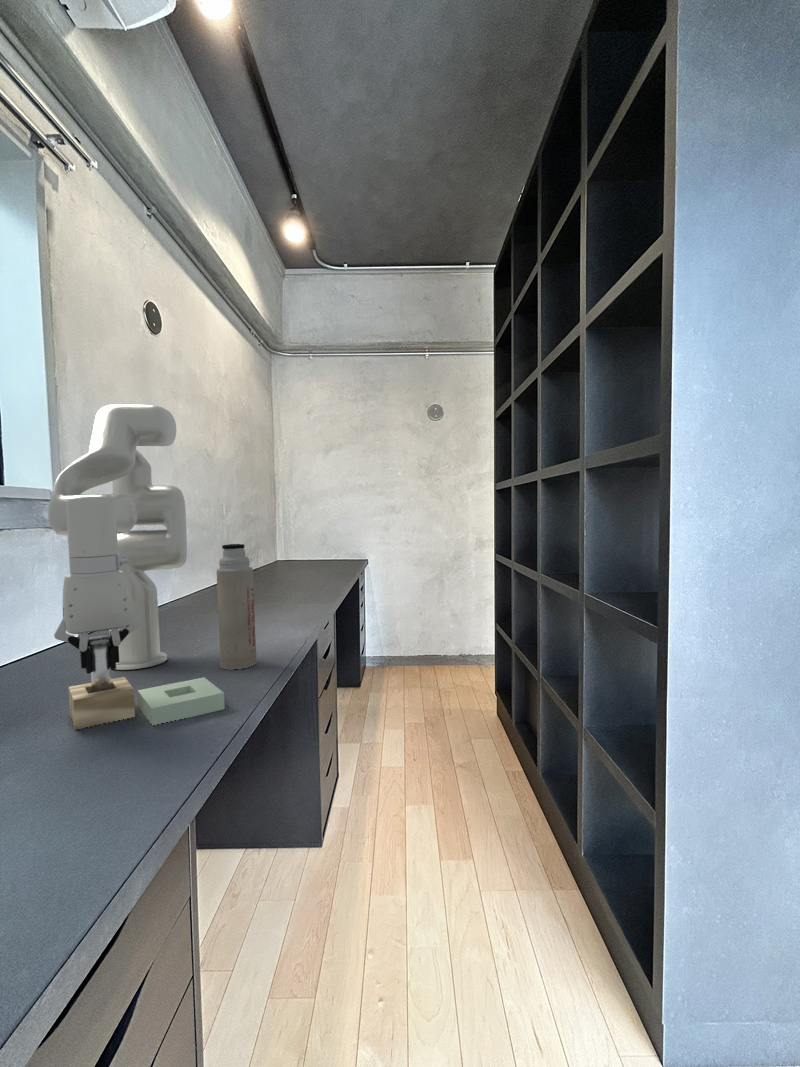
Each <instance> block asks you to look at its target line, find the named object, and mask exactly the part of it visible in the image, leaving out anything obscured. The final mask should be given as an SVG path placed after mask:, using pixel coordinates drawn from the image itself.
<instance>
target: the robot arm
mask: <svg viewBox="0 0 800 1067" xmlns="http://www.w3.org/2000/svg"><path fill="white" fill-rule="evenodd" d="M176 424H177V423H176V419H175V416H173V414H172V413H171V412H170V411H169V410H168V409H166V408H164V407H162V406H159V405H152V404H123V403H121V404H117V403H116V404H108V405H105V406H102V407H101V408H100V409H99V410H98V411H97V413H96V414H95V419H94V423H93V429H92V432H91V433H92V434H91V438H90V443H89V447H88V453H86V454H84V455H83V456H81V457H79V458H77V459H76V460H74V461H73V462H72V463H70V465H68V466H66V468H65V469H64V470H62V471H61V472H60V473H59V475H58V476H57V478H56V479H55V481H54V484H53V487H52V491H51V494H50V499H49V503H48V512H47V518H48V523H49V526H50V528H51V529H52V531H54V532H55V533H56V534H58V535H62V536H67V545H68V547H67V548H68V562H69V564H68V565H69V574H67V575H64V580H63V587H62V619H61V621H60V623H59V625H58V627H57V629H56V630H55V632H54V635H53V637H54V639H56V640H58V641H62V642H65V643H68V644H70V645H72V646H73V647H74V648H76V649H78V650H79V654H80V668H81V670H82V669H85V672H86V674H87V675H89V674H90V675H91V672H92V662H91V651H90V646H87V643H88V637H89V633H95V632H96V633H97V632H102V631H108V634H109V636H111V643H110V644H109V653H110V670H117V671H129V670H139V669H145V668H149V667H154V666H157V665H160V664H161V665H162V664H163V663H165V662H166V661H167V660H168V654H167V653H166V652H164V651H163V652H162V651H161V646H160V626H159V623H160V622H159V606H158V605H159V604H158V602H159V600H158V588H157V586H156V584H155V583H154V581H153V580H152V579H151V578H150V577H149V576H148V574H146V573H145V572H146V571H147V572H148V571H156V570H160V571H161V570H171V569H179V568H182V567H183V566H184V565H185V564H186V561H187V557H188V538H187V534H188V533H187V513H186V510H187V509H186V503H185V502H186V501H185V496H184V493H183V492H182V490H181V489H180V488H179V487H177V486H175V485H165V484H164V485H159V484H158V485H153V484H152V466H151V464H150V463H149V461H148V460H147V459H146V458H145V456H144V455H143V454H142V453H141V452H139V451H138V450H137V447H171V446H172V445H173V443H174V442H175V441H176V437H177V425H176ZM111 482H112V493H111V494H110V493H109V494H108V493H107V494H106V493H104V494H103V493H102V494H99V493H92V494H91V493H90V494H89V493H88V494H87V493H86V494H83V493H85V492H87V491H88V490H90V489H92V488H95V487H99V486H101V485H106V484H108V483H111ZM157 525H159V526H160V525H162V526H165V527H166V529H149V530H148V529H140V530H139V529H137V530H136V529H135V530H132V529H133V528H134V527H135V526H157ZM75 635H77V636H75Z"/></svg>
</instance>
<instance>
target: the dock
mask: <svg viewBox="0 0 800 1067" xmlns="http://www.w3.org/2000/svg"><path fill="white" fill-rule="evenodd" d="M137 707H138V708H139V709H140V711H141V712H142V714H143V715H144V717H145V718H146V719H147V721H148V720H149V721H148V722H149V723H150V725H151V724H152V725H151V726H152V727H153V725H155V726H158V725H157V724H159V725H162V724H161V723H164V724H167V723H166V722H168V723H171V722H170V721H172V722H176V721H180V719H181V720H185V719H189V718H193V717H198V716H202V715H206V714H210V713H214V712H218V711H222V710H223V711H224V710H225V709H226V706H225V692H223V690H221V688H218V686H217V685H215V684H213V683H212V682H211V681H210V680H208V679H207V678H206V677H203V676H202V677H199V678H195V679H189V680H184V681H183V680H182V681H178V682H173V683H167V684H163V685H158V686H153V687H147V688H143V689H138V690H137ZM184 718H185V719H184ZM175 720H176V721H175Z"/></svg>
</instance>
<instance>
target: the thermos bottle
mask: <svg viewBox="0 0 800 1067" xmlns="http://www.w3.org/2000/svg"><path fill="white" fill-rule="evenodd" d="M221 548H222V549H223V551H222V557H221V558H220V559H219V562H218V564H219V566H218V567H219V568H218V569H217V568H216V590H217V594H216V595H217V614H218V628H219V630H218V631H219V657H220V658H219V659H220V660H219V661H220V668H221V669H222V668H223V670H227V669H228V671H229V670H230V671H235V670H234V669H238V670H243V669H242V668H245V669H248V667H249V668H252V667H254V666H256V665H257V645H256V644H257V643H256V642H257V641H256V617H255V595H254V594H255V592H254V570H253V569H254V568H253V567H251V566H250V562H251V561H250V558H249V557H248V556H246V551H245V544H242V543H231V544H230V543H228V544H224V545H222V547H221ZM255 664H256V665H255ZM253 665H254V666H253ZM251 666H252V667H251Z"/></svg>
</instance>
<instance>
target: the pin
mask: <svg viewBox="0 0 800 1067" xmlns="http://www.w3.org/2000/svg"><path fill="white" fill-rule="evenodd" d="M110 643H111V636H110V635H108V634H107V635H106V634H105V635H95V636H90V637H89V638H88V643H87V646H89V649H90V651H91V662H92V672H91V673H90V676H91V683H92V693H94V692H99V691H105V690H110V689H112V687H111V679H112V674H111V672H112V671H111V670H112V669H111V668H110V653H109V644H110Z"/></svg>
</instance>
